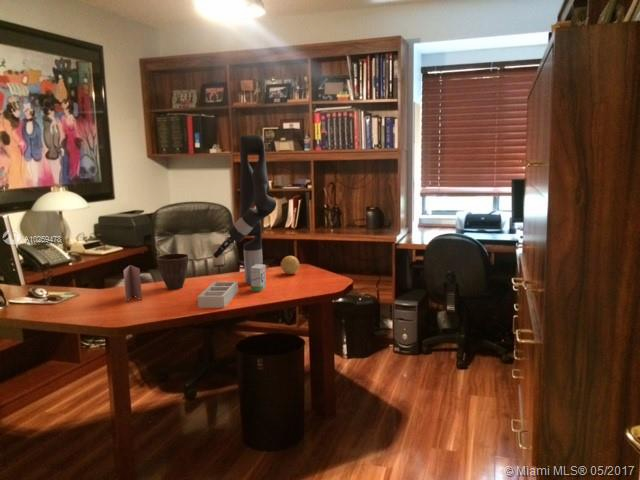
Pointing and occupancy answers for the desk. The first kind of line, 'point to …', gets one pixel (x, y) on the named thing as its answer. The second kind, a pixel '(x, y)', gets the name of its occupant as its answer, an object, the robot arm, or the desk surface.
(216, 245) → the tall wooden block
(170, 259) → the plant pot
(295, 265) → the stress ball
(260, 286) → the ink box
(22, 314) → the desk surface
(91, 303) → the desk surface
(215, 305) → the grey compartment tray
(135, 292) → the greeting card
